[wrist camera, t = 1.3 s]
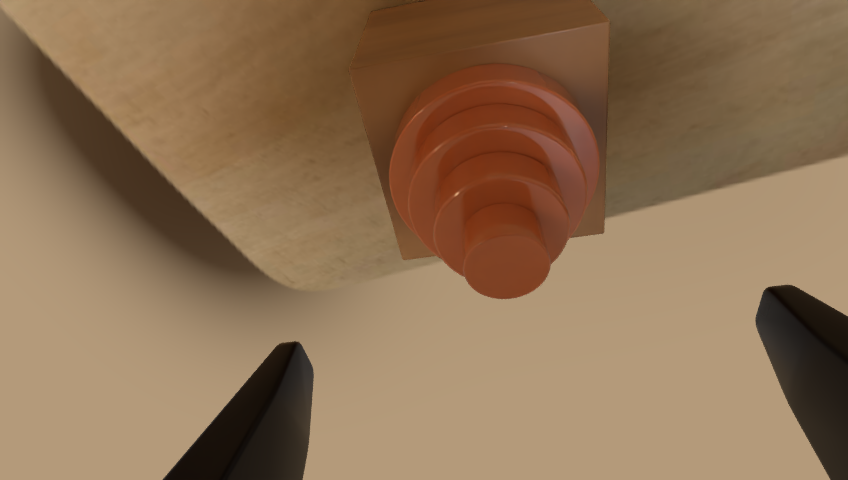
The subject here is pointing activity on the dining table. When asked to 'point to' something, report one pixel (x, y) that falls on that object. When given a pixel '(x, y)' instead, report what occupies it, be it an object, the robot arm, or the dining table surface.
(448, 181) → the cone
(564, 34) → the stand
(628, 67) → the dining table surface
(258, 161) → the dining table surface
